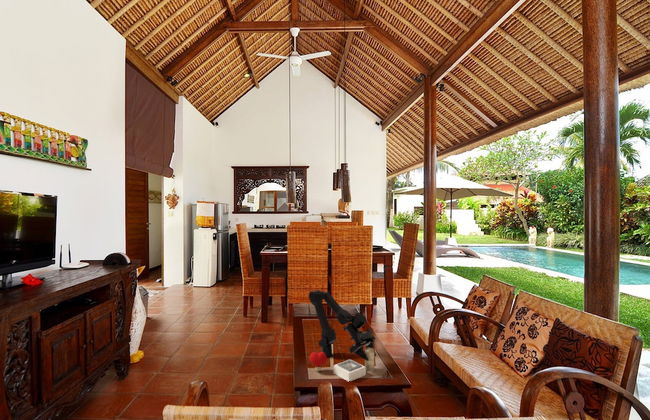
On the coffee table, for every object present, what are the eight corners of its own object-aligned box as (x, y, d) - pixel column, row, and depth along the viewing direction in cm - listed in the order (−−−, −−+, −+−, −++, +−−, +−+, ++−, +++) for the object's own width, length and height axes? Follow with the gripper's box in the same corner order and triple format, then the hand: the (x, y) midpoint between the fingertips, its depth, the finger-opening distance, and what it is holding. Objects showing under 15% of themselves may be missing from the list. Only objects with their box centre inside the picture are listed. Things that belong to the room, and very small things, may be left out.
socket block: (333, 373, 178) (333, 364, 178) (350, 367, 185) (350, 358, 185) (348, 381, 168) (348, 372, 168) (365, 374, 176) (365, 365, 176)
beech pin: (363, 369, 182) (363, 349, 183) (369, 367, 185) (369, 346, 186) (369, 372, 178) (369, 351, 179) (376, 370, 181) (376, 349, 182)
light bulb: (326, 368, 184) (326, 349, 184) (327, 374, 177) (327, 354, 177) (309, 368, 183) (309, 350, 184) (309, 374, 176) (309, 355, 177)
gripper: (353, 329, 178) (371, 355, 171) (372, 321, 192) (389, 345, 185) (341, 340, 183) (358, 366, 175) (361, 332, 197) (377, 355, 190)
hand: (371, 358), depth 181 cm, fingers open, 7 cm apart
